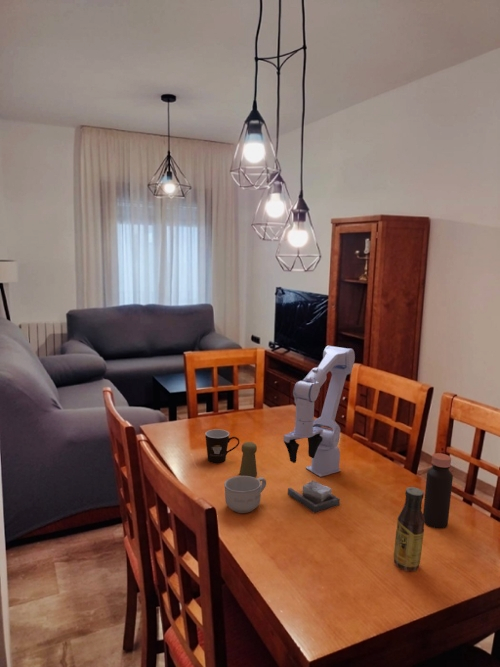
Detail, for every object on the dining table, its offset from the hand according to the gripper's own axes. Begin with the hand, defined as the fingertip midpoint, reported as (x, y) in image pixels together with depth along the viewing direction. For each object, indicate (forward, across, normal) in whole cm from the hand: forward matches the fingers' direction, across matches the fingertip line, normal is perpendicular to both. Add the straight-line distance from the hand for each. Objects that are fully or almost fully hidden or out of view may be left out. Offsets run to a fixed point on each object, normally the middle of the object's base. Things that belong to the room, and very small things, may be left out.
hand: (302, 459), depth 156 cm
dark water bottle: (+10, -20, +36) cm, 42 cm away
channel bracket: (+9, +2, +8) cm, 13 cm away
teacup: (+10, +22, +2) cm, 24 cm away
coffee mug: (+10, +13, -30) cm, 34 cm away
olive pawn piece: (+10, +10, -16) cm, 21 cm away
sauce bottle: (+10, +3, +45) cm, 46 cm away
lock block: (+10, +2, +10) cm, 14 cm away
